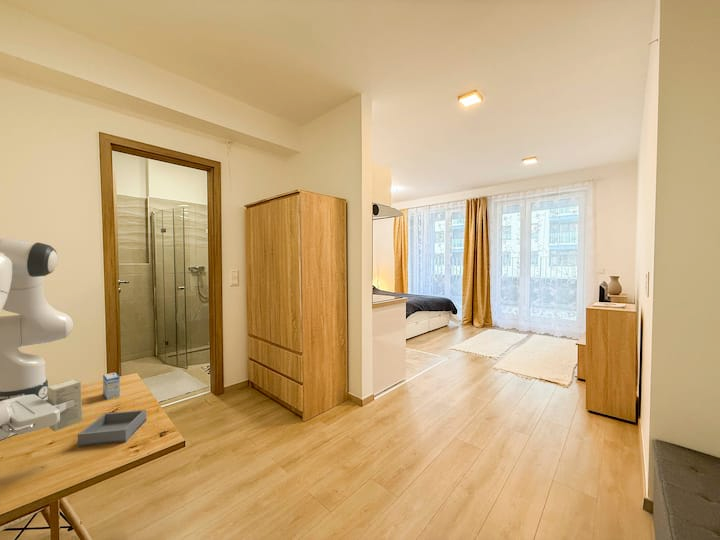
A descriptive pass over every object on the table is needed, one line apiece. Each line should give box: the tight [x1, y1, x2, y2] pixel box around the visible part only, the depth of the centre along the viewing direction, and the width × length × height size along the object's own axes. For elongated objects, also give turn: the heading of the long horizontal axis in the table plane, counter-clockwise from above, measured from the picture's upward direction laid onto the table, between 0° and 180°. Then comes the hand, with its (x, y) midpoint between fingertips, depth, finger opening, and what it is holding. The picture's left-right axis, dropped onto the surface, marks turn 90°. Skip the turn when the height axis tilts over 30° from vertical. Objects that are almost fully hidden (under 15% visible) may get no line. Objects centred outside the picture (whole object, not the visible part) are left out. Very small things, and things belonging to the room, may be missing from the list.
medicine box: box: [102, 372, 121, 400], centre depth 126 cm, size 8×4×9 cm, turn 50°
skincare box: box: [47, 378, 83, 432], centre depth 85 cm, size 6×4×12 cm
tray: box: [77, 409, 147, 448], centre depth 98 cm, size 13×13×4 cm
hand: (69, 400), depth 86 cm, fingers closed on skincare box, 4 cm apart
